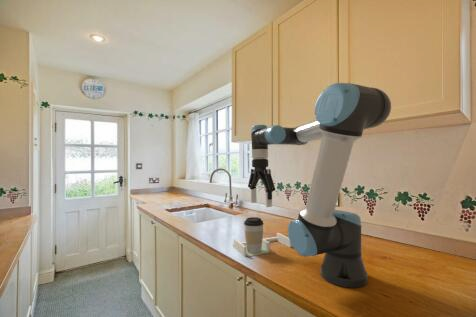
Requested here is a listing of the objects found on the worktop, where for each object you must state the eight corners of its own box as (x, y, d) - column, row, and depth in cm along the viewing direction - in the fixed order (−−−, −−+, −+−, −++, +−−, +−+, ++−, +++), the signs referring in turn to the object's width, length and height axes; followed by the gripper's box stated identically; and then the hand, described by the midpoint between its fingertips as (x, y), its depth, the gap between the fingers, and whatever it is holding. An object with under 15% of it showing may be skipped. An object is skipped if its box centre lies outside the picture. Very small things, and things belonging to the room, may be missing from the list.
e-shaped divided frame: (291, 247, 114) (291, 239, 114) (244, 256, 104) (244, 247, 104) (276, 239, 126) (276, 231, 126) (232, 246, 116) (232, 238, 116)
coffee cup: (240, 252, 107) (240, 219, 108) (249, 246, 115) (248, 215, 116) (259, 256, 103) (258, 221, 103) (266, 249, 111) (266, 216, 111)
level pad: (268, 252, 107) (268, 252, 107) (247, 256, 103) (247, 256, 103) (258, 245, 117) (258, 245, 117) (238, 249, 112) (238, 248, 112)
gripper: (282, 157, 101) (283, 208, 100) (253, 159, 124) (254, 200, 123) (267, 157, 98) (268, 209, 97) (240, 159, 120) (241, 201, 120)
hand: (260, 204), depth 110 cm, fingers open, 13 cm apart
